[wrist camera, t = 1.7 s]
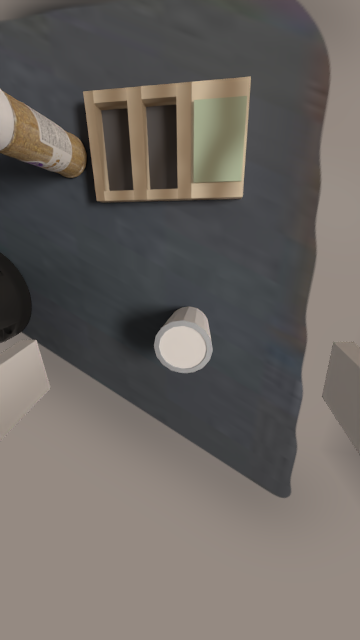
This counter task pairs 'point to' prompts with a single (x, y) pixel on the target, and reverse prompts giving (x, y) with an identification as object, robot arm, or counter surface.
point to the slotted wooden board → (169, 140)
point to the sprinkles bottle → (38, 139)
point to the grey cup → (184, 341)
